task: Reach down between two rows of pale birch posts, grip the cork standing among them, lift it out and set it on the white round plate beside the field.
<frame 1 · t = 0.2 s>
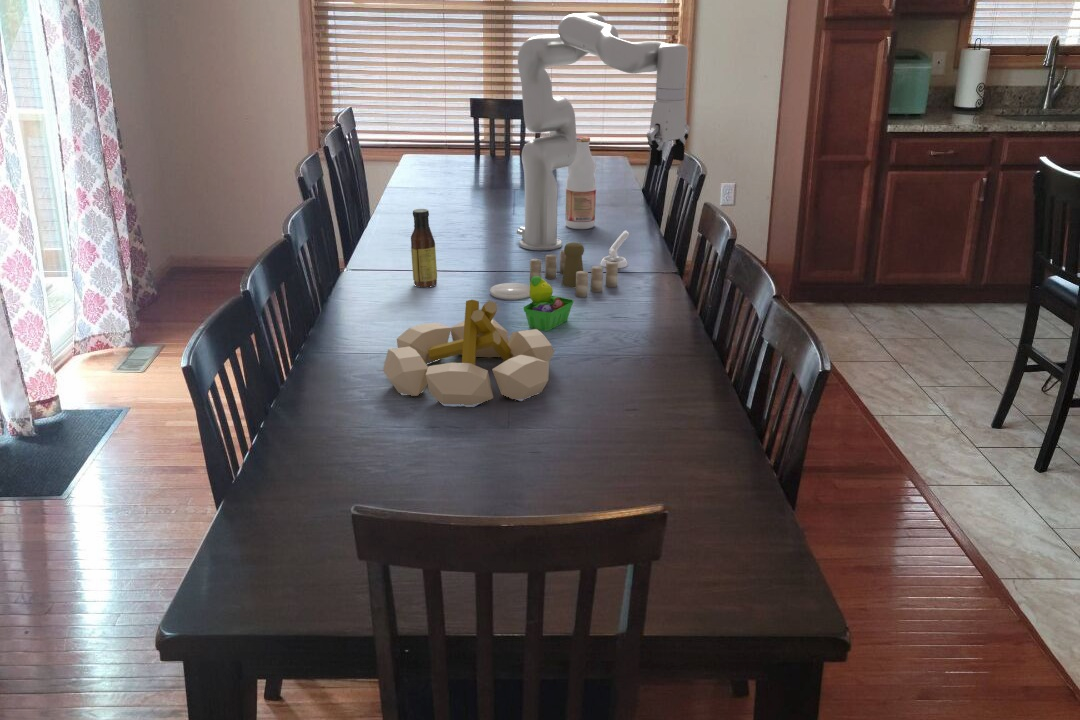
hand: (667, 162, 271), 31 cm above the table, tool pointing down, fingers open, 9 cm apart
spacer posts: (573, 283, 276), on the table
fruit basket: (546, 324, 247), on the table
white plastic lever piece: (614, 265, 293), on the table
campfire: (471, 378, 216), on the table
white round plate: (511, 293, 268), on the table
fruit juice: (579, 226, 333), on the table
sauce bottle: (424, 285, 274), on the table
cork: (573, 284, 276), on the table
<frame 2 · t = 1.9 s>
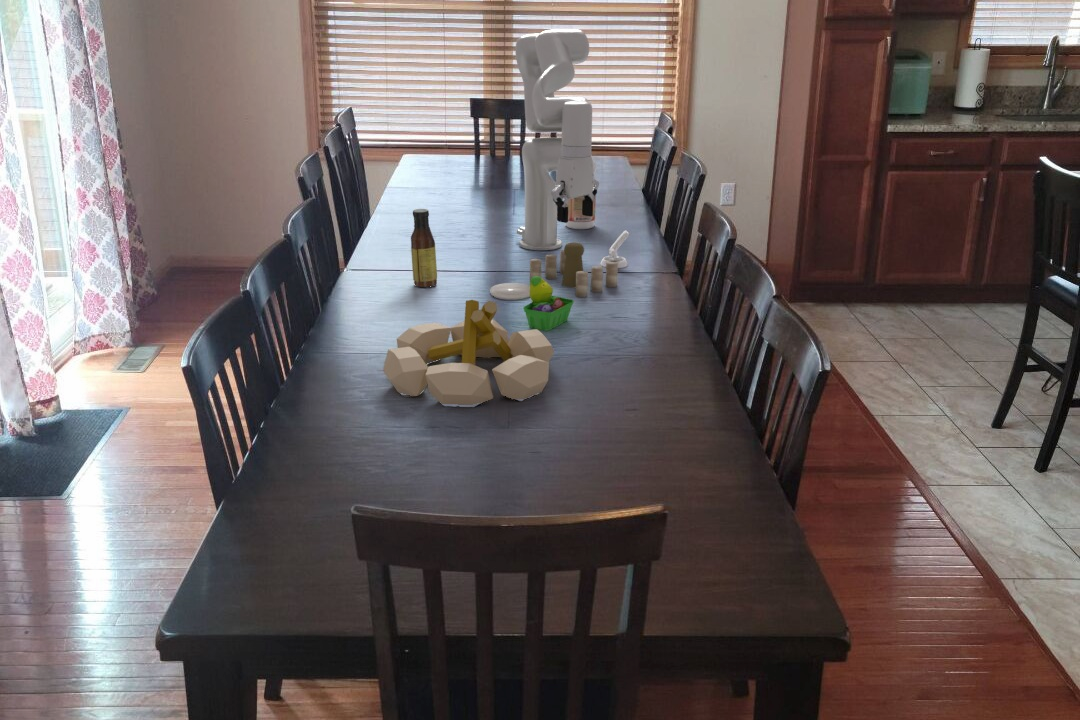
hand: (575, 218, 269), 18 cm above the table, tool pointing down, fingers open, 9 cm apart
nothing on the table moved.
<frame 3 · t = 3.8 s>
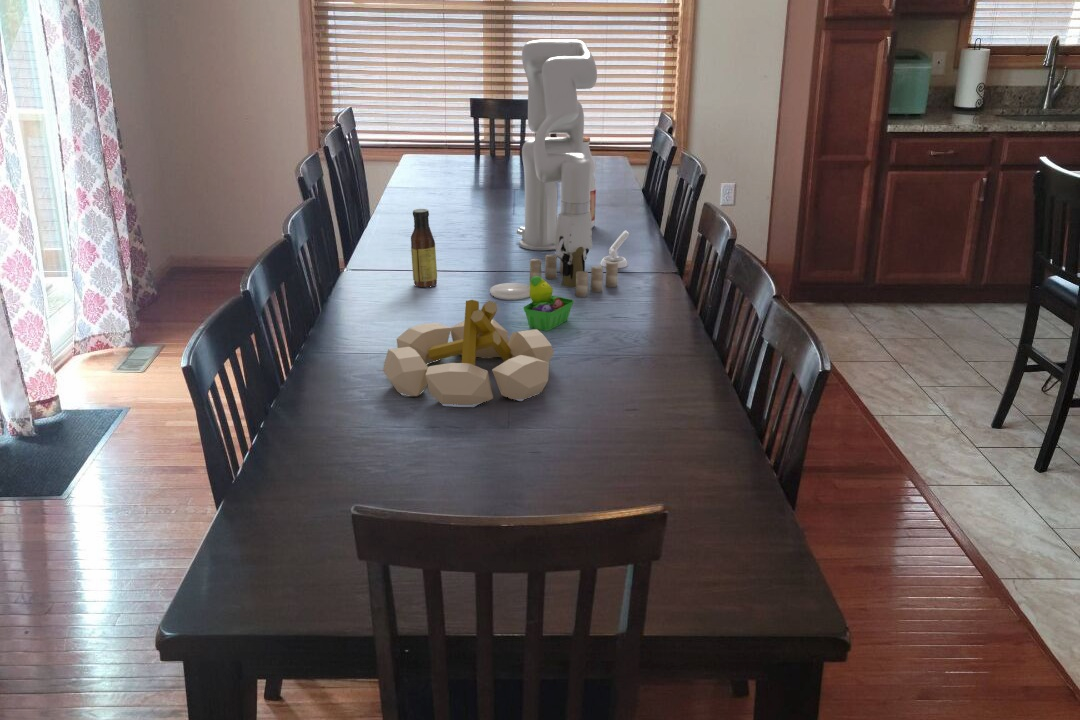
hand: (573, 275, 275), 2 cm above the table, tool pointing down, fingers closed on cork, 3 cm apart
cork: (573, 284, 276), on the table, touching gripper
everything else where it was.
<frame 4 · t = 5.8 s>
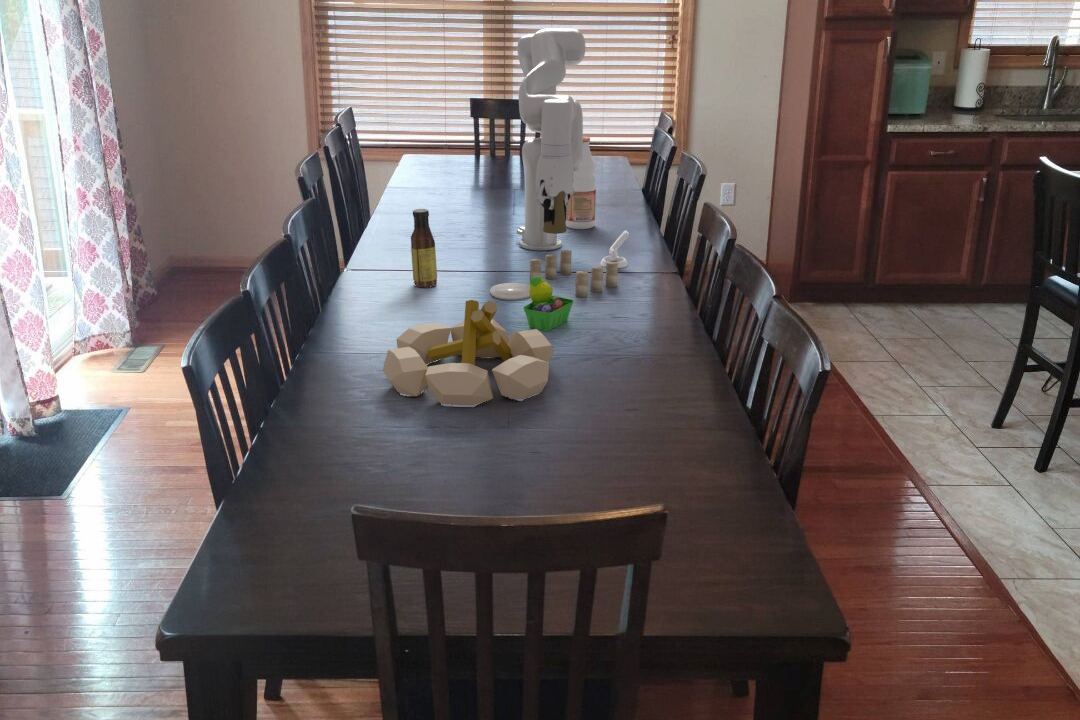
hand: (555, 221, 267), 17 cm above the table, tool pointing down, fingers closed on cork, 3 cm apart
cork: (554, 231, 268), point 15 cm above the table, touching gripper
everything else where it was.
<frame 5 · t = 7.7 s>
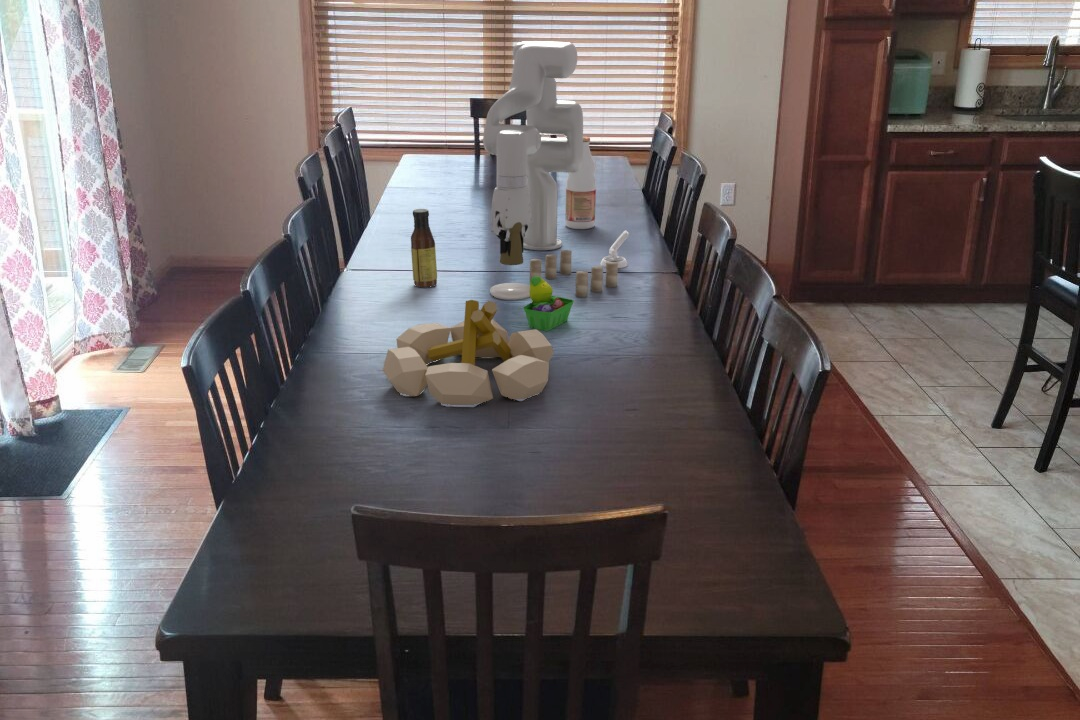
hand: (511, 253, 264), 11 cm above the table, tool pointing down, fingers closed on cork, 3 cm apart
cork: (511, 262, 265), point 8 cm above the table, touching gripper
everything else where it was.
when the fingers open (5 cm above the table, at t = 9.0 s): cork drops 2 cm, resting on white round plate.
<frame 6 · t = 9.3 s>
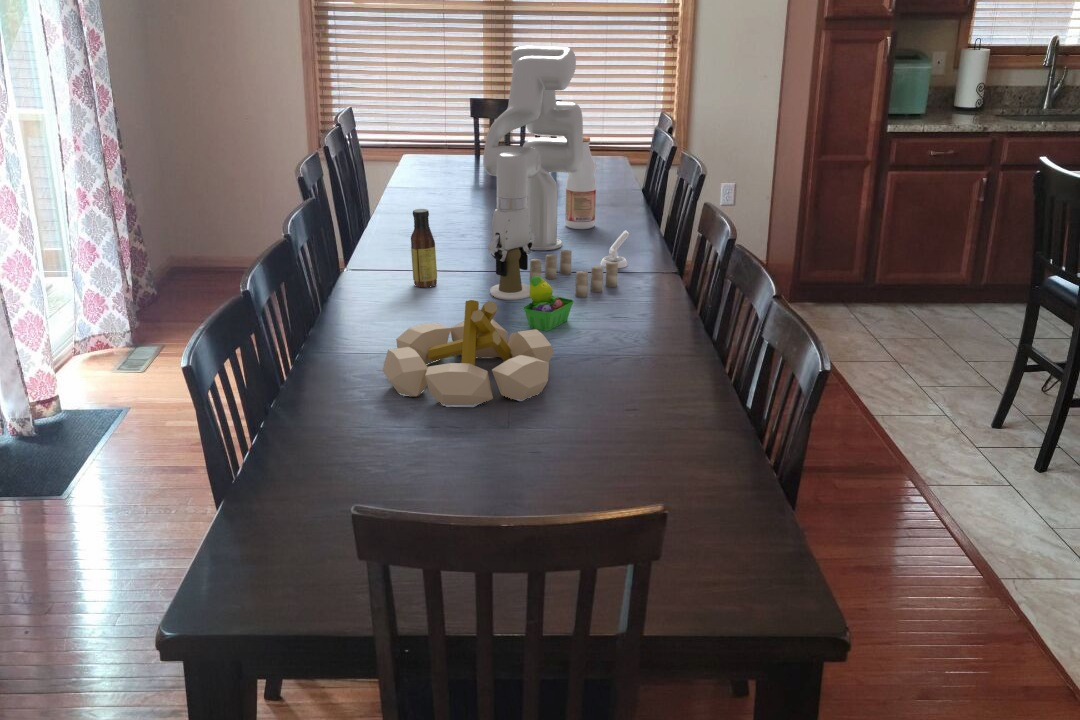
hand: (511, 271, 266), 6 cm above the table, tool pointing down, fingers open, 7 cm apart
cork: (510, 289, 267), point 1 cm above the table, touching white round plate
everything else where it was.
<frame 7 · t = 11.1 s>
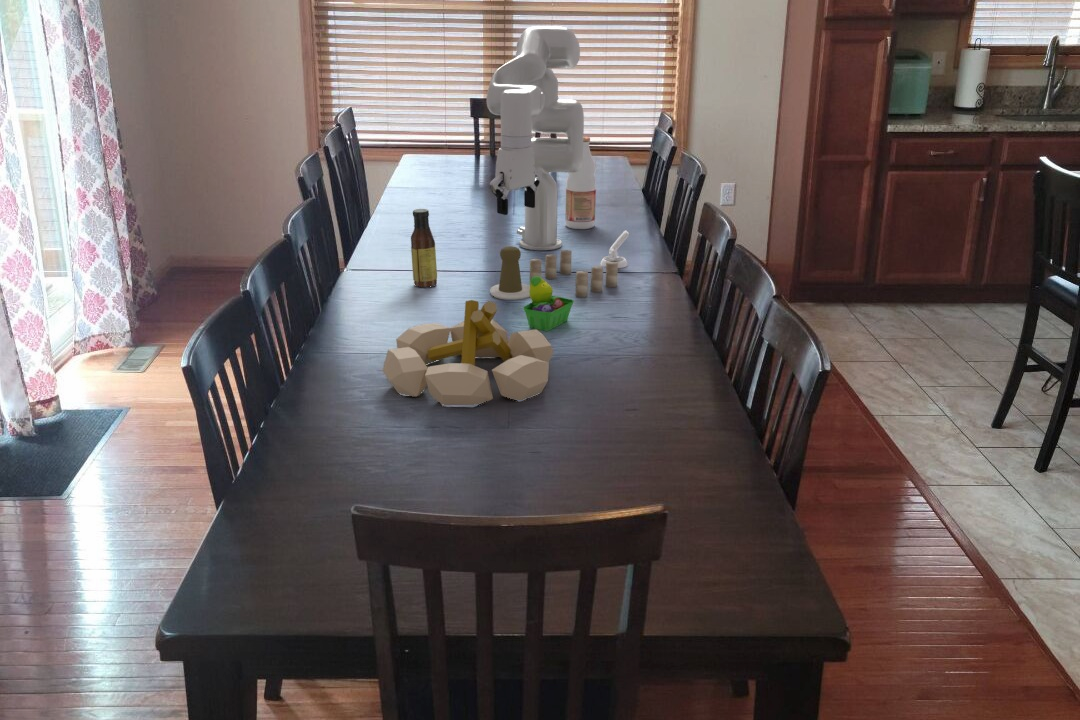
hand: (516, 210, 262), 21 cm above the table, tool pointing down, fingers open, 9 cm apart
nothing on the table moved.
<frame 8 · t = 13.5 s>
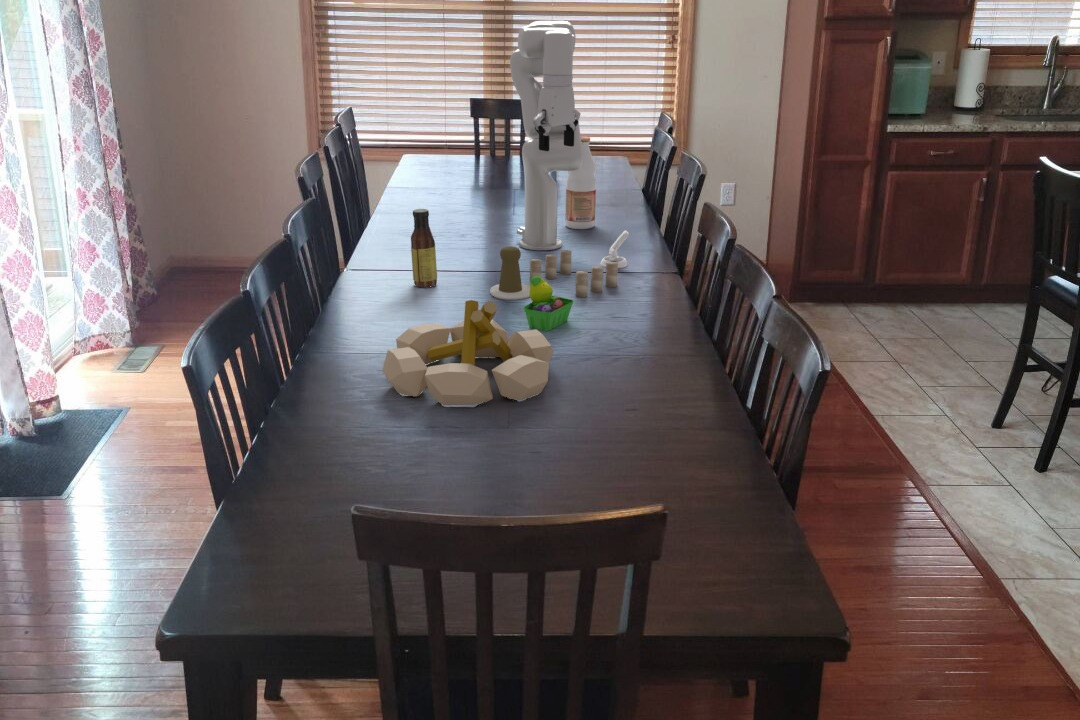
hand: (556, 148, 275), 33 cm above the table, tool pointing down, fingers open, 9 cm apart
nothing on the table moved.
at the end: cork 0.5 cm from the white round plate (horizontally); cork tilted 0°; the gripper is holding nothing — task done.
